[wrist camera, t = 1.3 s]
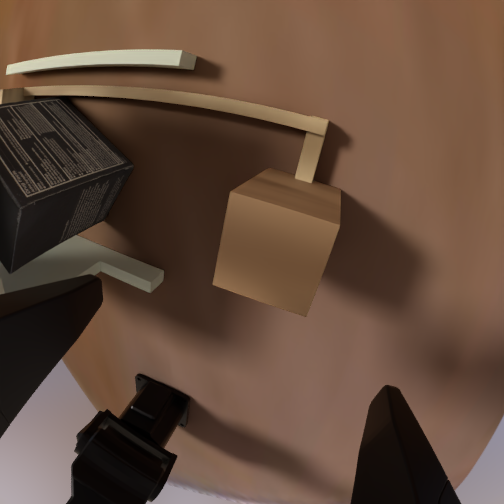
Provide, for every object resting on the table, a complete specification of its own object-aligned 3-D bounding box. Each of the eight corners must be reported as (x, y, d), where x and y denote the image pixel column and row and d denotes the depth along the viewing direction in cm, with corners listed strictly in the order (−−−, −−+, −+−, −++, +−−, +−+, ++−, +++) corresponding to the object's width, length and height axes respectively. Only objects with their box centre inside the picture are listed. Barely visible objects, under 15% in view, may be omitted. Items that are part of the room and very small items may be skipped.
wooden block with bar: (304, 295, 21) (285, 364, 15) (25, 194, 26) (-27, 215, 20) (358, 129, 16) (369, 131, 10) (29, 86, 21) (-28, 92, 14)
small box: (40, 152, 23) (-51, 180, 14) (64, 93, 20) (-40, 105, 11) (103, 225, 24) (7, 280, 15) (137, 164, 21) (19, 205, 12)
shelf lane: (163, 281, 24) (58, 383, 13) (16, 215, 27) (-69, 259, 16) (197, 55, 17) (36, 14, 6) (22, 64, 20) (-80, 76, 9)
